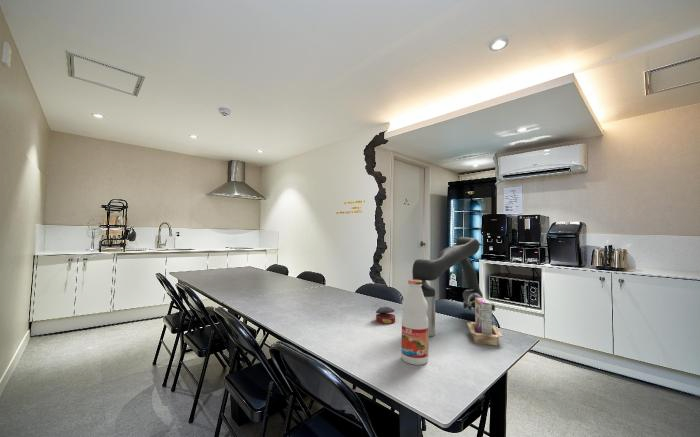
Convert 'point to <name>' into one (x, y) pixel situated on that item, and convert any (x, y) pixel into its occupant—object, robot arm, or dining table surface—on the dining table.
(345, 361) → the dining table surface
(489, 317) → the candy bar box
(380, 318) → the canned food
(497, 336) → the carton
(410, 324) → the fruit juice
